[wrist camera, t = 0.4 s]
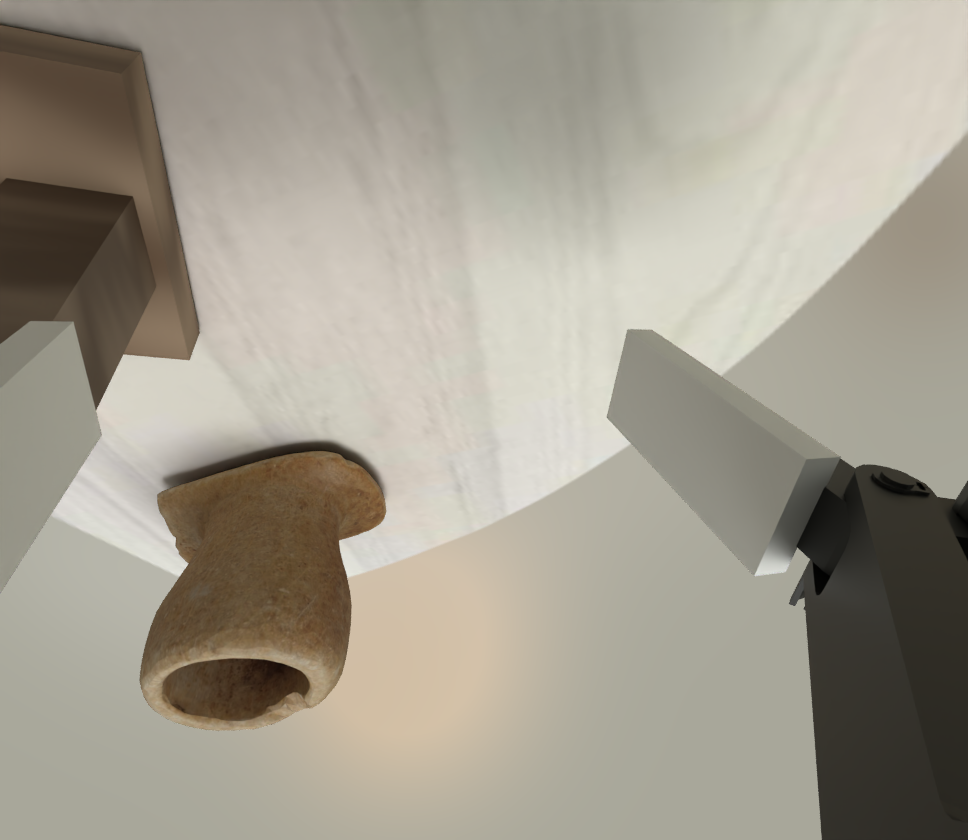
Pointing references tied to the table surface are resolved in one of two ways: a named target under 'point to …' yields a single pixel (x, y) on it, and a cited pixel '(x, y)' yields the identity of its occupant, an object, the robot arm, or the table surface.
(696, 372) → the robot arm
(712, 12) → the table surface
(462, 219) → the table surface
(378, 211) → the table surface
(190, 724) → the brown clay vessel
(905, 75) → the table surface
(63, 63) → the frame
